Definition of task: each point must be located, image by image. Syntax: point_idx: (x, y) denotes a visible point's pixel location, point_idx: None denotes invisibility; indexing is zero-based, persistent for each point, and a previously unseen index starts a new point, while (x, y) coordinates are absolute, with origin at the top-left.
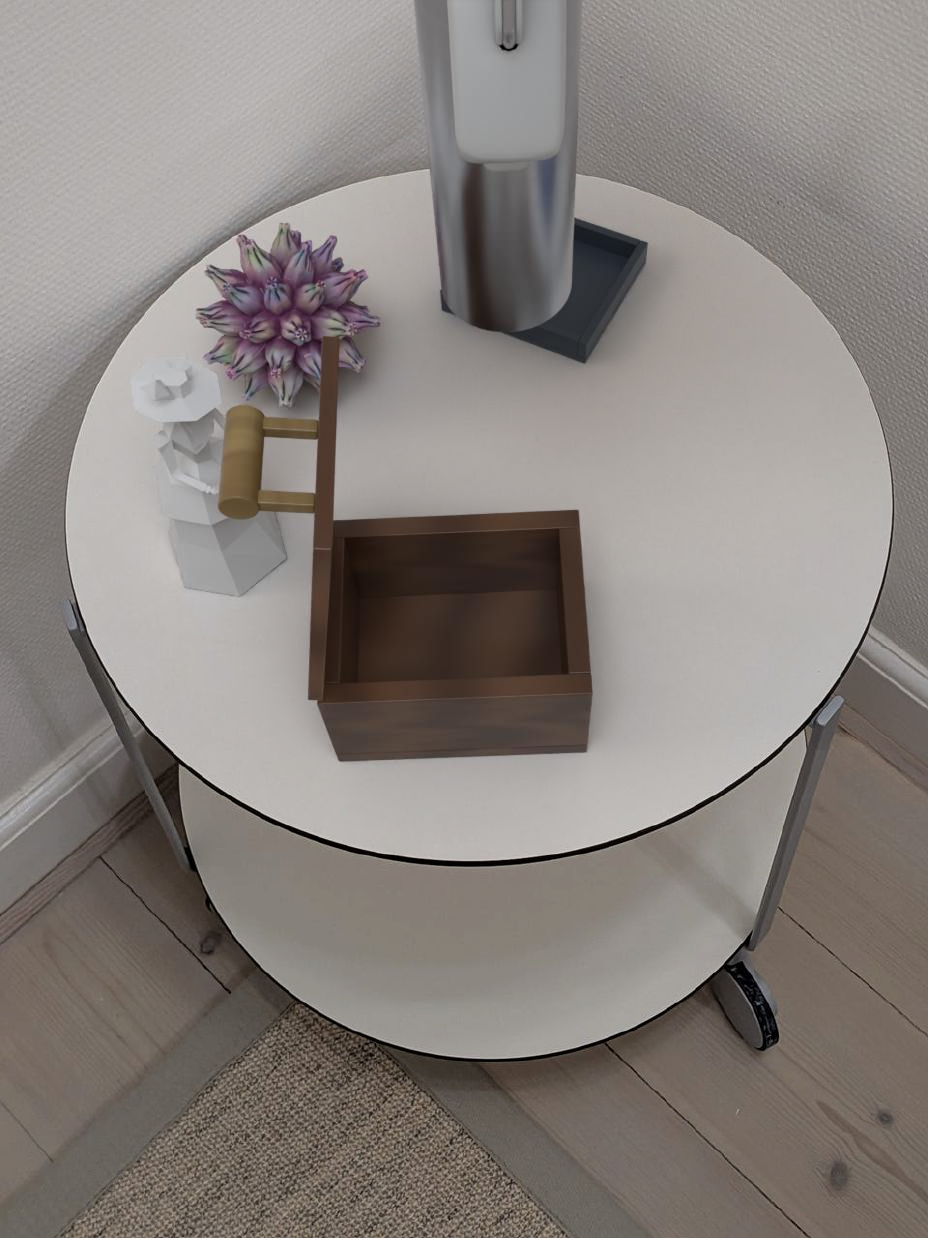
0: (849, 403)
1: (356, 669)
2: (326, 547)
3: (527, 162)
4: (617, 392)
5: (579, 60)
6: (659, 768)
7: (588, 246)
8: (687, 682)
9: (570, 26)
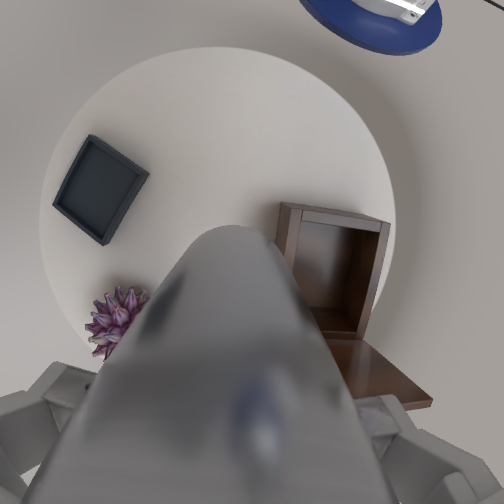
0: (201, 52)
1: (315, 309)
2: (431, 401)
3: (395, 397)
4: (170, 159)
5: (271, 356)
6: (375, 186)
7: (82, 164)
8: (341, 162)
9: (372, 488)
